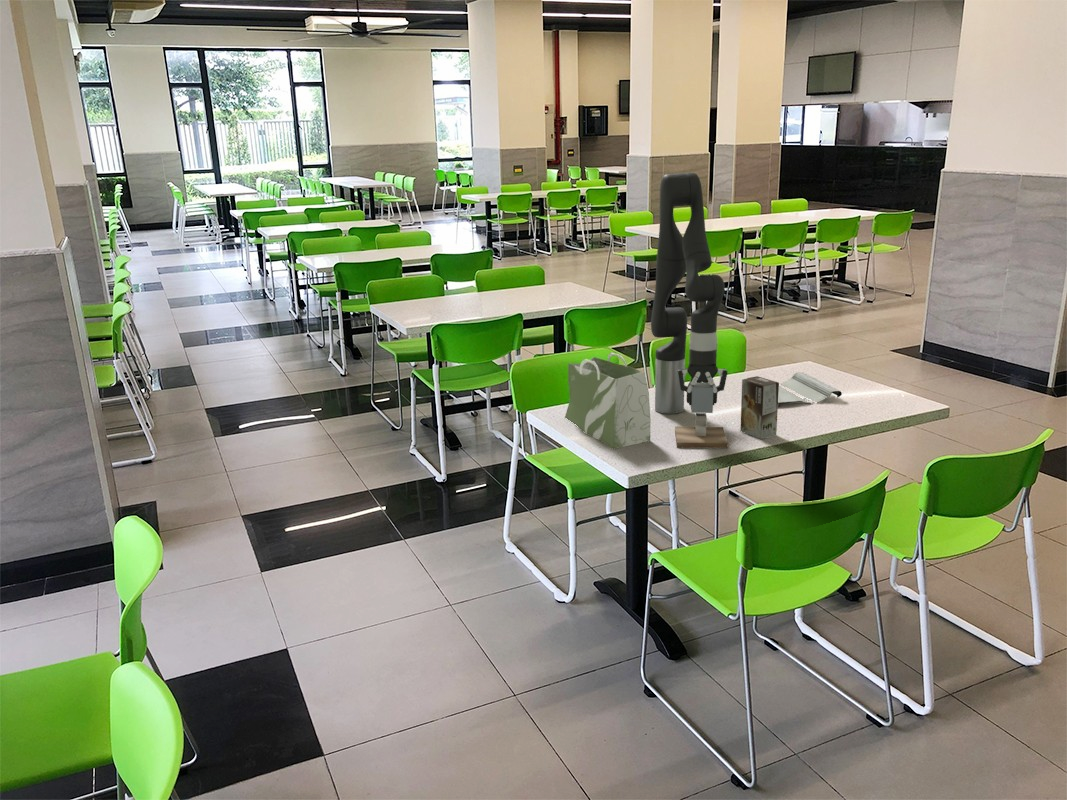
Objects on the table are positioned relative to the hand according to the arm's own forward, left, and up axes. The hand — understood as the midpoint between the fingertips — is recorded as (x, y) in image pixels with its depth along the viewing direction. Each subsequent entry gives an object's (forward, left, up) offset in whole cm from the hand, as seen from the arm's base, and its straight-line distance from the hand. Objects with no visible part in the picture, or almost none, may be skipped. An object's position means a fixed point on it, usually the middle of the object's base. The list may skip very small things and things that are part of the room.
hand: (701, 404), depth 233 cm
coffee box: (-6, +17, -11) cm, 21 cm away
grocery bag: (-8, -28, -11) cm, 31 cm away
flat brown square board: (0, 0, -11) cm, 11 cm away
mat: (-46, +33, -11) cm, 58 cm away
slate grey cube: (0, 0, -2) cm, 2 cm away
